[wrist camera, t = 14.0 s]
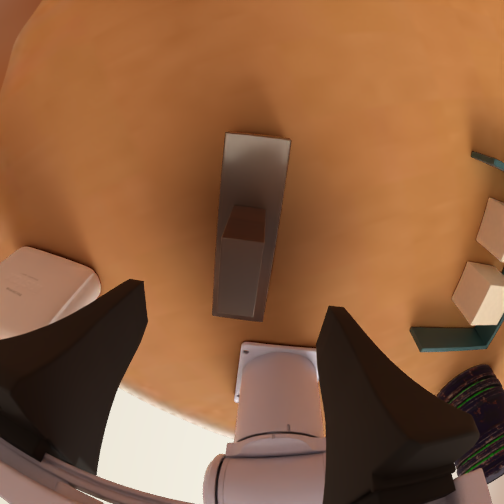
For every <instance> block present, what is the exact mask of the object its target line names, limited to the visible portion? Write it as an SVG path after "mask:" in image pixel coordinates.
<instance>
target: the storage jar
mask: <svg viewBox="0 0 504 504" xmlns="http://www.w3.org/2000/svg"><path fill="white" fill-rule="evenodd" d="M437 397H438V398H440V399H441V400H443V401H445V402H446V403H448V404H450V405H452V406H454V407H456V408H458V409H460V410H462V411H465V412H467V413H469V414H471V415H472V417H473V419H474V421H475V424H476V426H477V429H478V431H479V434H480V436H479V439H478V441H477V442H476V444H475V445H474V446H473V447H472V448H471V449H470V450H469V451H467V452H466V453H465V454H464V455H463V456H461V457H460V458H459V459H458V460H456V461H455V464H454V465H455V466H456V469H457V475H458V477H459V476H461V475H464V474H466V473H469V472H472V471H474V470H477V469H479V468H482V470H483V473H484V476H485V479H486V483H487V484H489V483H491V482H492V481H494V480H496V479H497V478H499V477H500V476H502V475H503V474H504V390H503V388H502V385H501V383H500V381H499V380H498V379H497V378H496V376H495V375H494V374H493V371H492V369H491V367H490V366H489V365H486V364H482V365H478V366H475V367H472V368H470V369H468V370H466V371H465V372H463V373H461V374H460V375H458V376H457V377H456V378H454V379H453V380H452V381H450V382H449V383H448V384H447V385H446V386H445V387H444V388H443V389H442V390H441V391H440V393H439V394H438V396H437Z"/></svg>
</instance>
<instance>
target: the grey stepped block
mask: <svg viewBox="0 0 504 504" xmlns="http://www.w3.org/2000/svg"><path fill="white" fill-rule="evenodd" d="M290 148H291V139H289V138H284V137H276V136H269V135H261V134H252V133H242V132H232V131H228V132H226V133H225V140H224V150H223V161H222V172H221V184H220V196H219V209H218V222H217V237H216V252H215V269H214V287H213V308H212V315H213V316H218V317H225V318H233V319H240V320H248V321H256V322H263V318H264V312H265V306H266V301H267V295H268V289H269V283H270V277H271V271H272V265H273V259H274V253H275V247H276V240H277V234H278V228H279V221H280V215H281V209H282V202H283V196H284V189H285V182H286V175H287V169H288V162H289V155H290Z"/></svg>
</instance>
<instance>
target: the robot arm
mask: <svg viewBox="0 0 504 504" xmlns="http://www.w3.org/2000/svg"><path fill="white" fill-rule="evenodd" d="M147 323H148V318H147V310H146V301H145V291H144V281H139V280H133V279H129V280H127V281H125V282H123V283H122V284H120V285H118V286H117V287H115V288H114V289H112V290H110V291H109V292H107V293H106V294H104V295H103V296H101V297H99V298H98V299H96V300H95V301H93V302H91V303H90V304H88V305H86V306H84V307H83V308H81V309H79V310H77V311H76V312H74V313H72V314H70V315H68V316H66V317H64V318H62V319H60V320H58V321H56V322H54V323H52V324H49V325H47V326H44V327H41V328H39V329H36V330H33V331H31V332H28V333H25V334H21V335H18V336H14V337H10V338H6V339H1V340H0V497H2V498H3V499H4V500H6V501H7V502H8V503H9V504H103V502H101V501H99V500H96V499H94V498H92V497H90V496H88V495H86V494H84V493H82V492H80V491H83V492H85V493H87V494H90V495H92V496H94V497H97V498H100V499H102V500H104V501H107V502H110V503H113V504H193V503H188V502H183V501H178V500H173V499H169V498H165V497H161V496H156V495H153V494H149V493H145V492H142V491H139V490H135V489H132V488H129V487H125V486H122V485H120V484H117V483H114V482H111V481H108V480H105V479H103V478H100V477H98V476H96V475H97V467H98V461H99V455H100V449H101V444H102V440H103V435H104V431H105V427H106V423H107V420H108V416H109V413H110V410H111V406H112V403H113V400H114V397H115V394H116V391H117V389H118V387H119V385H120V382H121V380H122V378H123V376H124V374H125V372H126V370H127V368H128V366H129V364H130V362H131V360H132V358H133V356H134V354H135V352H136V350H137V348H138V346H139V344H140V342H141V340H142V337H143V334H144V331H145V329H146V326H147ZM244 350H247V351H244ZM318 381H319V382H320V388H321V394H322V400H323V406H324V412H325V422H326V437H324V434H323V424H322V415H321V406H320V397H319V389H318ZM234 401H235V402H236V403H239V404H238V412H237V421H236V430H235V438H234V443H228V444H227V448H226V454H219V455H217V456H216V457H215V458H214V460H213V461H212V462H211V463H210V464H209V465H208V467H207V470H206V473H205V477H204V483H203V500H204V504H492V501H491V497H490V493H489V490H488V486H487V483H486V479H485V476H484V473H483V470H482V468H479V469H477V470H474V471H472V472H469V473H466V474H464V475H461V476H459V477H457V478H455V479H454V480H453V478H452V474H451V473H453V472H455V470H456V468H455V465H454V462H455V461H456V460H458V459H459V458H460V457H461V456H463V455H464V454H465V453H466V452H467V451H469V450H470V449H471V448H472V447H473V446H474V445H475V444H476V442H477V441H478V439H479V436H480V434H479V431H478V429H477V426H476V424H475V421H474V419H473V417H472V415H471V414H469V413H467V412H465V411H462V410H460V409H458V408H456V407H454V406H452V405H450V404H448V403H446V402H445V401H443V400H441V399H440V398H438V397H436V396H435V395H433V394H432V393H430V392H429V391H427V390H426V389H424V388H423V387H422V386H420V385H419V384H417V383H416V382H415V381H413V380H412V379H411V378H410V377H408V376H407V375H406V374H405V373H404V372H403V371H401V370H400V369H399V368H398V367H397V366H396V365H395V364H394V363H393V362H392V361H391V360H390V359H389V358H388V357H387V356H386V355H385V354H384V353H383V352H382V351H381V350H380V349H379V348H378V347H377V346H376V345H375V344H374V343H373V341H372V340H371V339H370V338H369V337H368V336H367V334H366V333H365V332H364V331H363V330H362V328H361V327H360V326H359V325H358V324H357V322H356V321H355V320H354V319H353V318H352V316H351V315H350V314H349V313H348V312H347V310H346V309H345V308H344V307H335V306H329V307H328V310H327V313H326V316H325V319H324V322H323V325H322V328H321V331H320V334H319V337H318V340H317V343H316V348H304V347H292V346H281V345H272V344H262V343H254V342H243V343H242V345H241V352H240V359H239V367H238V375H237V382H236V390H235V398H234ZM75 488H76V489H78V490H80V491H78V490H76V489H75Z"/></svg>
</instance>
